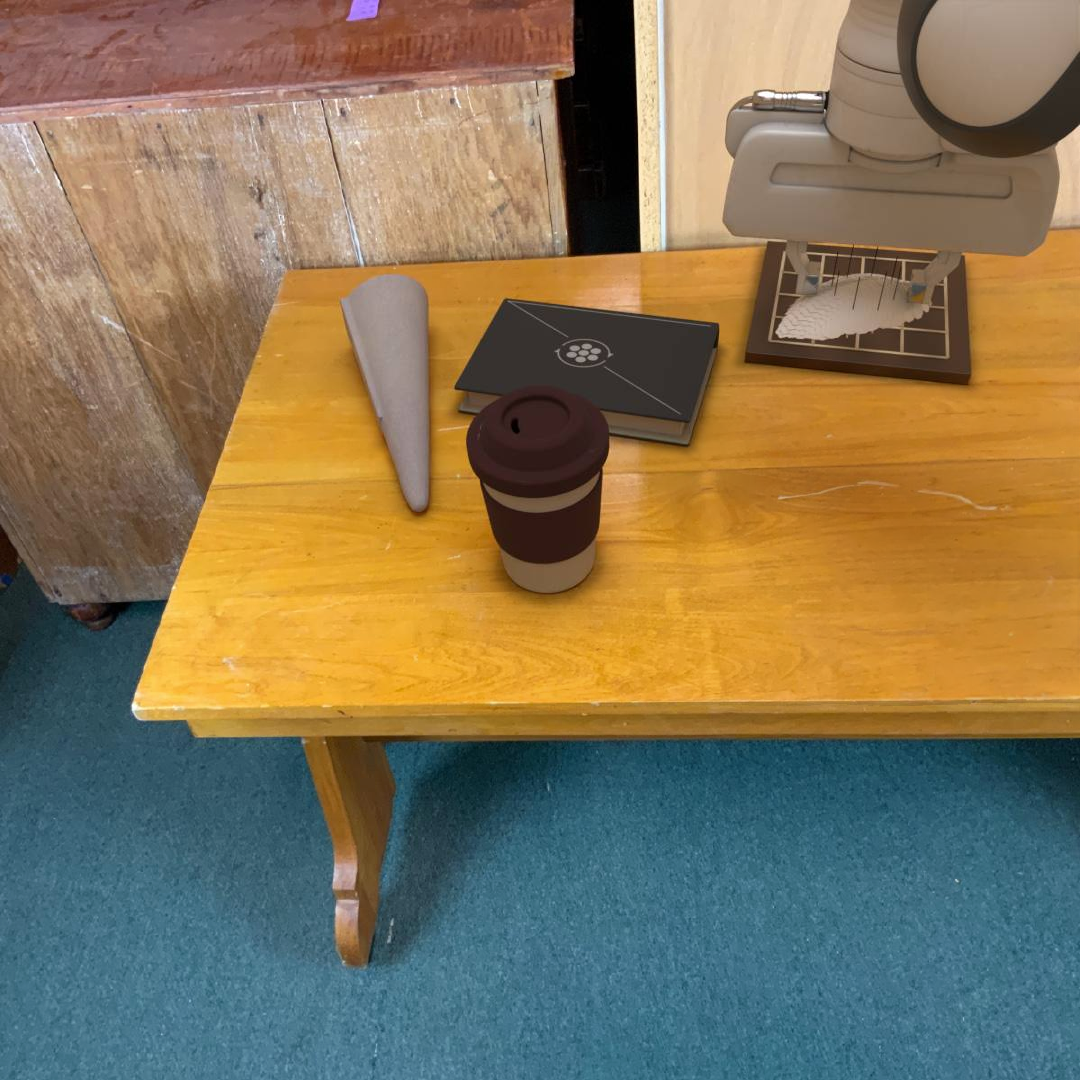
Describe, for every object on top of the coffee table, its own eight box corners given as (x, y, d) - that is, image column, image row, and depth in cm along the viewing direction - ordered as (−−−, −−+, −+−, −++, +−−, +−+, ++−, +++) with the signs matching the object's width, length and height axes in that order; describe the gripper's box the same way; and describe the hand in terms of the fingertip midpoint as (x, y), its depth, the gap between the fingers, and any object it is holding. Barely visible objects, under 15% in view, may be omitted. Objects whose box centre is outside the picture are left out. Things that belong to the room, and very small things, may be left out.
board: (961, 265, 99) (965, 253, 98) (967, 384, 86) (971, 373, 86) (766, 250, 104) (767, 239, 103) (744, 362, 91) (745, 350, 90)
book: (718, 347, 93) (720, 321, 91) (688, 447, 83) (690, 421, 81) (507, 321, 98) (505, 295, 96) (457, 412, 89) (453, 387, 87)
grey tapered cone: (505, 455, 78) (423, 265, 92) (402, 483, 76) (335, 285, 91) (509, 514, 84) (431, 327, 98) (413, 540, 82) (349, 346, 97)
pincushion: (795, 366, 66) (807, 296, 62) (758, 318, 70) (766, 249, 66) (951, 329, 68) (973, 259, 64) (906, 284, 72) (923, 215, 68)
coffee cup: (631, 535, 77) (631, 388, 66) (580, 626, 71) (570, 481, 60) (522, 502, 80) (504, 357, 69) (464, 586, 75) (435, 442, 63)
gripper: (722, 111, 57) (707, 307, 67) (1095, 127, 53) (1018, 334, 63) (734, 67, 61) (718, 259, 71) (1081, 79, 57) (1011, 281, 67)
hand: (861, 294), depth 67 cm, fingers closed on pincushion, 6 cm apart
